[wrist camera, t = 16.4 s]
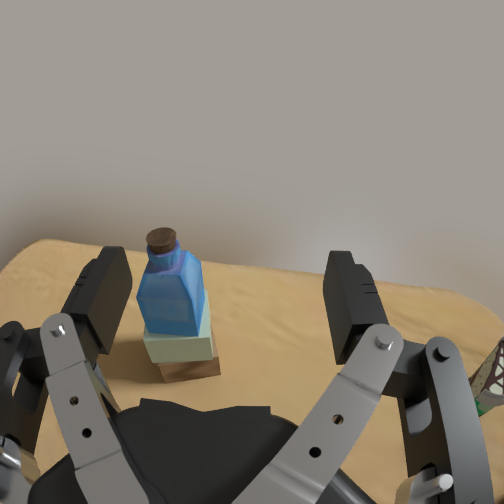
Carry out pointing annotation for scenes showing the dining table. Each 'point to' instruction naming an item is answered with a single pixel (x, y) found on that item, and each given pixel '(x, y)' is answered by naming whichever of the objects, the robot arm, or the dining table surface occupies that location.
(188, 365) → the tower base block
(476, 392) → the food container
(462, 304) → the dining table surface
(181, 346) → the tower top block
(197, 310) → the perfume bottle
